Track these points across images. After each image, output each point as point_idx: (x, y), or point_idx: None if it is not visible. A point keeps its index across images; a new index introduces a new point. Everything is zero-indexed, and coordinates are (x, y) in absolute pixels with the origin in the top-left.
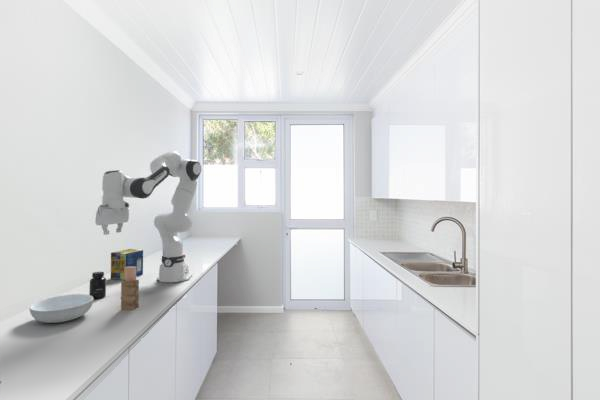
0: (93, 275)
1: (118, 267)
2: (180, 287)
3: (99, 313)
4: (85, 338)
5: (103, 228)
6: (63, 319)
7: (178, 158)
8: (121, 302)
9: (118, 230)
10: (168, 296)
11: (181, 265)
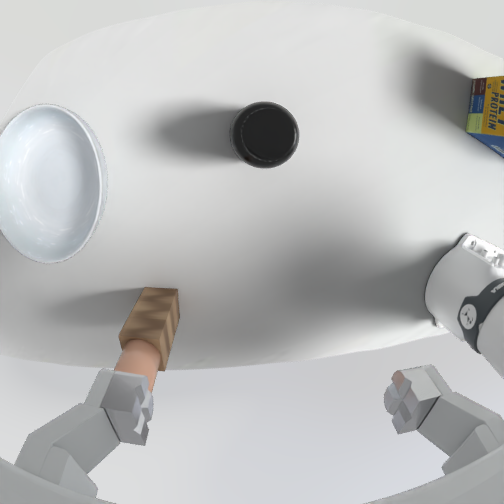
0: (244, 123)
1: (497, 106)
2: (372, 341)
3: (107, 247)
4: (15, 300)
5: (55, 436)
6: (24, 221)
7: None
8: (139, 298)
9: (399, 406)
10: (280, 350)
11: (463, 338)
